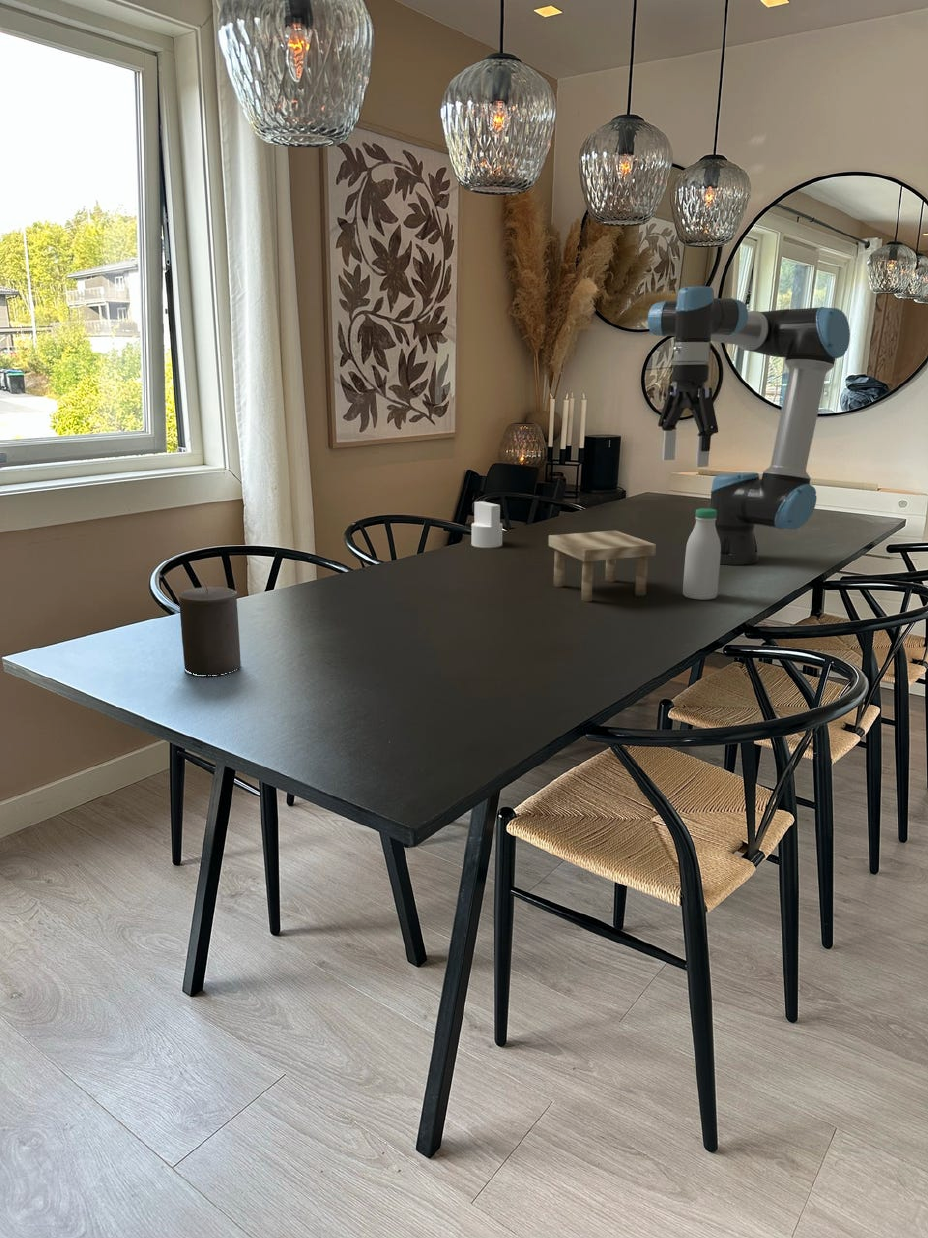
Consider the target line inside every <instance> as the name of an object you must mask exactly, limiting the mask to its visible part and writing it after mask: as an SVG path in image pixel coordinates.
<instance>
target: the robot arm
mask: <svg viewBox="0 0 928 1238" xmlns="http://www.w3.org/2000/svg"><path fill="white" fill-rule="evenodd" d="M647 327H648V329H649V332H650V333H651V334H652V335H654V336H658V337H659V336H661V337H674V347H673V361H674V363H676V364H673V366H672V374H671V375H672V376H671V377H672V379H671V380H672V382H673V383H676V385H668V386H667V394H666V397H665V402H664V404H663V408H662V411H661V414H660V416H659V420H658V422H657V424H658V428H659V427H661V429H662V431H663V437H662V438H663V439H662V459H661V460H662V461H673V460H675V456H676V443H677V442H676V441H677V439H676V438H677V427H676V426H677V424H678V422H679V420H680V418H681V416H682V415H683V412H684V411H685V410H686V409H688V410H689V411H691V413H692V415H693V418H694V422H695V424H696V427H697V429H698V434H697V435H696V437H697V438H696V449H695V450H696V452H695V465H694V467H696V468H706V467H709V460H710V459H709V458H710V451H711V439H712V436H713V435H715V434H718V433H719V426H718V421H717V417H716V416H717V415H716V412H715V410H716V409H715V405H714V401H713V388H712V387H704V386H703V384H704V383H707V382H708V380H709V371H710V370H709V369H710V366H709V364H707V363H708V362H709V361H710V360H711V359H710V357H711V342H716V343H722V344H728V345H735V346H737V347H739V349H741V350H744V351H747V352H752V353H756V354H762V355H765V356H770V357H777V358H784V364H785V365H786V367H787V368H788V370H789V371H788V375H787V376H788V377H787V381H786V386H785V391H784V396H783V401H782V407H781V411H780V415H779V416H780V417H779V422H778V427H777V432H776V437H775V442H774V446H773V447H774V448H773V451H772V456H771V461H770V465H769V467H768V468H766V469H765V470H764V471H762V473H761V474H762V476H761V479H760V475H759V472H755V471H753V472H751V471H750V472H735V473H726V474H725V473H723V474H718V475H716V476H715V477H713V479H712V486H711V490H710V503H709V504H710V507H709V509H715V510H717V517H716V520H715V526H716V531H717V533H718V536H719V539H720V544H721V557H720V565H730V566H731V565H733V566H734V565H738V566H739V565H750V564H754V563H757V562H758V561H759V549H758V546H757V541H756V537H755V533H754V531H755V530H754V529H755V526H762V527H771V528H775V529H777V530H778V529H779V530H790V531H791V530H792V531H794V530H798V529H800V528H802V527H803V526H804V525H806V523H808V521H809V519H810V518H811V517H812V515H813V513H814V510H815V508H816V503H817V495H816V494H817V491H816V488H815V487H814V486H813V485H812V484H810V483H811V480H812V478H811V476H810V475H809V473H808V472H807V467H808V462H809V459H810V458H809V457H810V452H811V449H812V448H811V446H812V442H813V437H814V432H815V429H816V422H817V419H818V414H819V408H820V404H821V399H822V394H823V389H824V385H825V384H824V383H825V380H826V379H825V378H826V374H827V373H828V372H829V371H831V370H832V369H833V368H835V364H836V363H835V362H836V359H839V358H841V357H844V355H845V354H846V352H847V351H848V349H849V345H850V340H851V339H850V338H851V337H850V336H851V332H850V324H849V321H848V318H847V316H846V314H845V313H844V312H843V311H842V310H841V309H840V308H836V307H824V306H820V307H809V308H808V307H807V308H792V309H791V308H790V309H789V308H784V309H776V310H768V311H766V310H765V311H758V310H750V311H748V308H747V306H746V304H745V303H744V302H743V301H742V300H740V299H736V298H733V297H731V298H723V297H720V298H718V297H715V291H714V288H713V287H711V286H703V285H702V286H699V285H698V286H684V287H681V288H680V289H679V290H678V292H677V299H676V300H670V301H668V300H664V301H661V302H655V303H654V304H653V305H652V306H651V307H650V309H649V311H648V314H647Z"/></svg>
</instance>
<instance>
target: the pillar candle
mask: <svg viewBox="0 0 928 1238" xmlns="http://www.w3.org/2000/svg"><path fill="white" fill-rule="evenodd" d="M237 594H238V591H236V590H234V589H231V588H228V587H219V586H218V587H217V586H215V587H214V586H207V585H205V586H204V587H194V588H191V589H185V590H183V591H181V592H180V593H179V596H178V600H179V601H178V602H179V617H180V629H181V643H182V651H183V652H182V653H183V665H184V670H185V669H186V670H187V671H189V672H191V673H192V674H193V673H194V674H197V675H206V676H208V675H211V676H212V675H221V674H225V673H229V672H232V671H234V670H236V669H238V668H239V667H240V665H242V662H241V648H240V633H239V631H240V630H239V629H240V628H239V615H238V613H239V612H238V600H237V599H238V598H237V597H238V596H237ZM240 668H241V667H240ZM240 668H239V669H240ZM239 669H238V670H239Z"/></svg>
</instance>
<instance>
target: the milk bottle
mask: <svg viewBox="0 0 928 1238" xmlns="http://www.w3.org/2000/svg"><path fill="white" fill-rule="evenodd" d="M716 517H717V510H715V509H710V508H704V507H703V508H697V509H695V524H694V526H693V530H692V531H691V533H690V535H689V537H688V540H687V543H686V548H685V558H684V569H683V570H684V572H683V582H682V585H683V586H682V594H683V596H684V597H685V598H687V599H692V600H699V601H701V600H702V601H708V600H714V599H716V598H717V597H718V593H719V584H720V583H719V581H720V580H719V579H720V567H721V564H720V557H721V544H720V539H719V536H718V533H717V531H716V526H715V520H716Z"/></svg>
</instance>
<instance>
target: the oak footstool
mask: <svg viewBox="0 0 928 1238" xmlns="http://www.w3.org/2000/svg"><path fill="white" fill-rule="evenodd" d="M548 547H550V548H552V549H554V555H553V556H554V557H553V559H554V562H553V564H554V565H553V586H554V587H556V588H561V587H562V588H563V587H564V585H565V584H564V583H565V561H566V560H565V559H566V558H565V556H566V555H568V556H571V557H573V558H575V559H578V560H580V561H582V567H581V571H582V572H581V591H580V595H581V596H580V601H581V602H585V603H586V602H589V603H590V602H592V601H593V581H594V580H593V578H594V562H597V561H605V575H604V577H605V578H604V581H605V582H608V583H613V582H616V575H617V574H616V573H617V572H616V571H617V560H619V559H620V560H621V559H627V558H628V559H629V558H636V575H635V592H634V595H635V596H638V597H644V595H645V596H646V594H647V581H648V580H647V579H648V564H649V563H648V561H649V557H652V556H656V549H657V548H656V543H652V542H649V541H647V540H644V539H642V538H638V537H636V536H632V535H629V534H627V533H624V532H622V531H618V530H604V531H602V530H601V531H590V532H577V533H576V532H574V533H563V534H562V533H561V534H550V535H548ZM565 554H566V555H565Z"/></svg>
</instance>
